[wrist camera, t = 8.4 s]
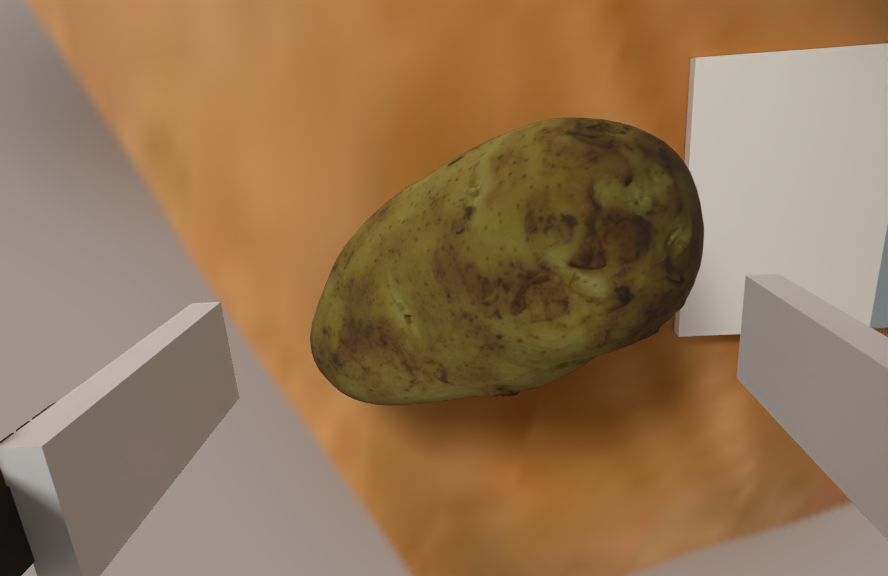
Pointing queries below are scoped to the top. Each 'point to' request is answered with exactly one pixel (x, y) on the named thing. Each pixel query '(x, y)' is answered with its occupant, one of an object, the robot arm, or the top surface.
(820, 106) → the track
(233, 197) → the top surface
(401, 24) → the top surface
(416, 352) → the potato
